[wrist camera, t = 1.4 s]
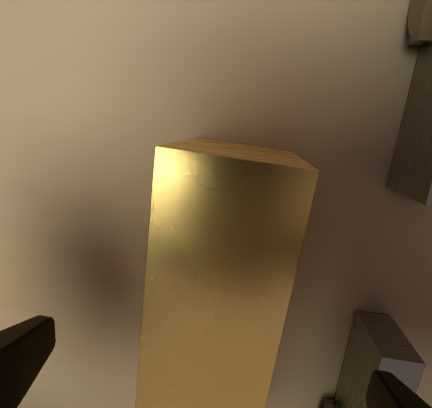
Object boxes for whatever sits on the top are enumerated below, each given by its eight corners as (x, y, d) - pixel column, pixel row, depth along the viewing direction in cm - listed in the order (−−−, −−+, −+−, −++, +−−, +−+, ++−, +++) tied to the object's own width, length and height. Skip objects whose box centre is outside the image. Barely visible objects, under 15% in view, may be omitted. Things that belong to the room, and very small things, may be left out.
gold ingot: (242, 390, 14) (236, 532, 9) (170, 374, 14) (127, 505, 9) (290, 150, 11) (319, 171, 6) (198, 137, 11) (155, 146, 6)
